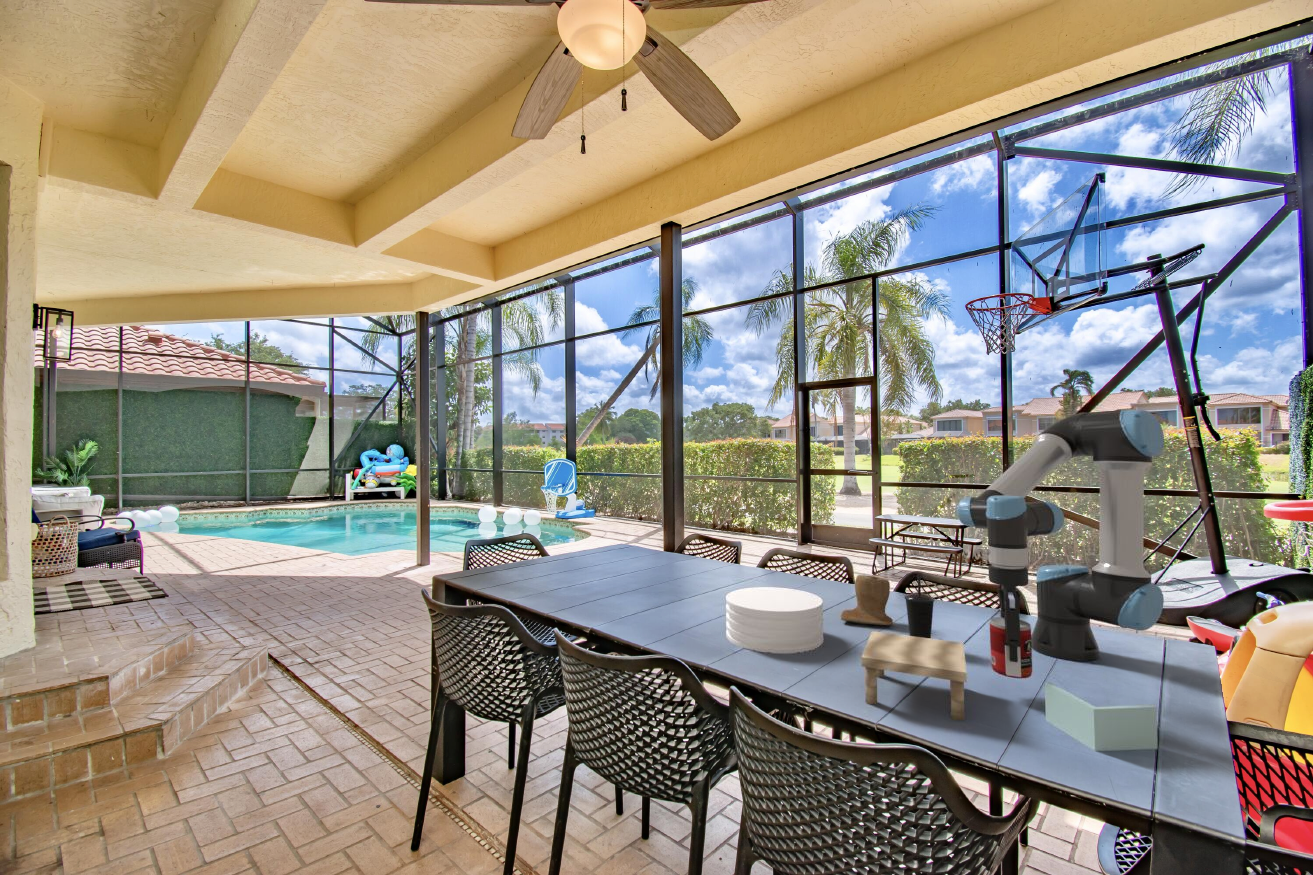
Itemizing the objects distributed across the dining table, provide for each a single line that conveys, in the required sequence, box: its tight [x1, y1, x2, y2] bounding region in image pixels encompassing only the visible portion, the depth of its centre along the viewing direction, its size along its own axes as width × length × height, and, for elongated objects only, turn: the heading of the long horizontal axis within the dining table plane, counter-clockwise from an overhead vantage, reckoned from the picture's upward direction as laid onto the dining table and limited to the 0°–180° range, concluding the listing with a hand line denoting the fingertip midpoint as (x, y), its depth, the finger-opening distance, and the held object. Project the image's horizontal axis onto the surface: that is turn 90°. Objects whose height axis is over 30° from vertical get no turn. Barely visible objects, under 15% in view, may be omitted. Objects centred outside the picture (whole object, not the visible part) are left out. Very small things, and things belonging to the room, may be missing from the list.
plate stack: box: [725, 586, 824, 654], centre depth 168 cm, size 28×28×12 cm
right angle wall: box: [1044, 681, 1158, 752], centre depth 110 cm, size 12×12×8 cm
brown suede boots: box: [840, 574, 894, 626], centre depth 182 cm, size 15×12×15 cm
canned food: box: [989, 616, 1033, 679], centre depth 126 cm, size 8×8×11 cm
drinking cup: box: [904, 574, 936, 639], centre depth 159 cm, size 8×8×20 cm
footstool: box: [861, 630, 968, 721], centre depth 127 cm, size 20×20×10 cm
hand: (1011, 668), depth 126 cm, fingers closed on canned food, 8 cm apart
